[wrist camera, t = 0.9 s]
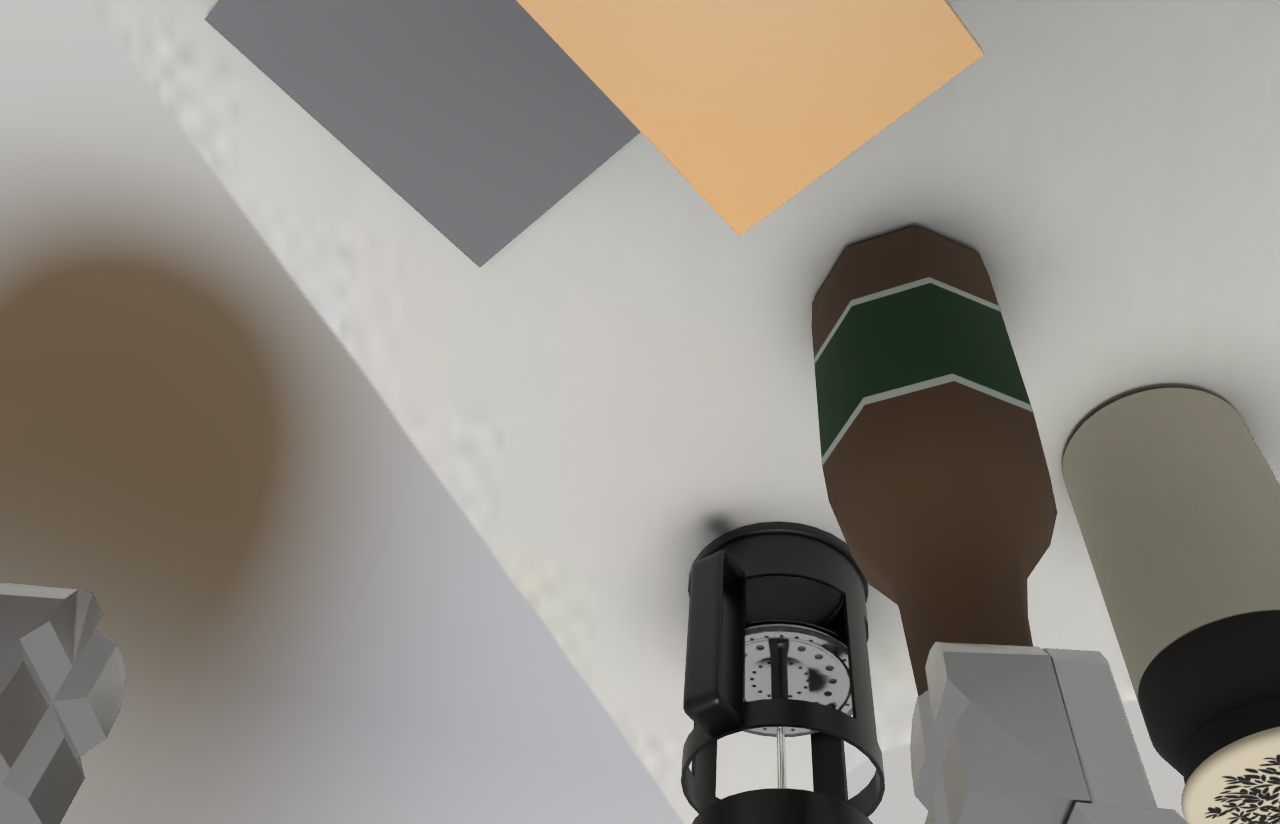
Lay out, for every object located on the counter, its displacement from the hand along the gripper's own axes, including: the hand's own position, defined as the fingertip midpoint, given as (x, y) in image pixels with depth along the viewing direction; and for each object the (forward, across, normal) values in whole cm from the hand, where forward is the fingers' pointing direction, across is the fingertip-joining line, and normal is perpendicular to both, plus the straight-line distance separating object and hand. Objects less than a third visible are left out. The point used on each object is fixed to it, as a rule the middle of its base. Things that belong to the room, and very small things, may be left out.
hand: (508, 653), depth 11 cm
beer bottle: (+34, -10, +16) cm, 39 cm away
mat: (+34, +9, +7) cm, 35 cm away
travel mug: (+34, -23, +24) cm, 47 cm away
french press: (+34, -6, +34) cm, 48 cm away
